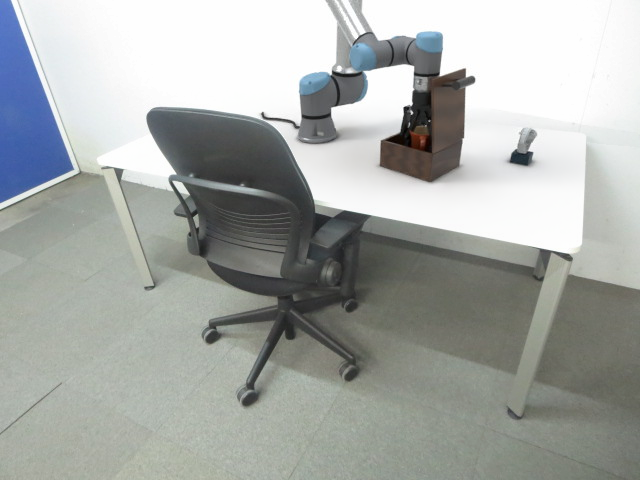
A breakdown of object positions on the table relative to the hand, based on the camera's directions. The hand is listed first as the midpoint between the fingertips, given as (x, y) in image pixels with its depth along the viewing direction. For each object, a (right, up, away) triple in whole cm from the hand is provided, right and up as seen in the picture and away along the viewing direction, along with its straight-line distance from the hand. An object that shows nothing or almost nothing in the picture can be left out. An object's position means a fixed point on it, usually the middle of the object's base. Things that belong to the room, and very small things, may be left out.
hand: (419, 161), depth 139 cm
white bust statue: (+33, 0, 0) cm, 33 cm away
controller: (+6, +16, +28) cm, 33 cm away
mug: (0, -1, 0) cm, 1 cm away
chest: (0, -1, +1) cm, 2 cm away
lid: (+5, +12, -15) cm, 20 cm away
